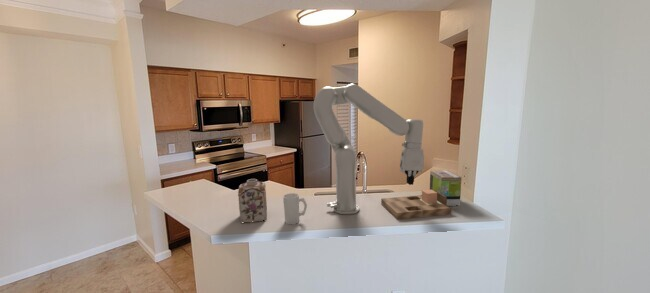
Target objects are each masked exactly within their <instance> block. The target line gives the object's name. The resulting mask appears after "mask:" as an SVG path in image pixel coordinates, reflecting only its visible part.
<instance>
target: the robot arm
mask: <svg viewBox="0 0 650 293" xmlns="http://www.w3.org/2000/svg"><path fill="white" fill-rule="evenodd" d="M346 104H351V105H352V106H354V107H355V108H356V109H358V110H359V111H360V112H362V113H363V114H365V115H366V116H367V117H368V118H370V119H372V120H374V121H376V122H378V123H379V124H381V125H382V126H384V127H385V128H386V129H388V131H389V132H390V133H391V134H393V135H396V136H399V137H402V136H404V142H403V143H402V144H401V146H402V147H403V148H402V151H401V155H400V161H399V167H400V168H399V172H401V173H404V174H405V175H406V184H408V185H409V186H411V185H414V182H415V178H416V175H417V174H418V173H423V170H424V167H425V156H424V155H425V154H424V149H423V148H422V143H423V129H424V121H423V120H422V119H417V118H412V119H411V118H409V119H405V118H404V117H402V116H401V115H400V114H398V113H397V112H395V111H394V110H392V109H391V107H388V106H387V105H386V104H384V103H383V102H381V101H380V100H378V99H377V98H376V97H375V96H373V95H372V94H370V93H369V92H368V91H366V90H365V89H364V88H362V87H361V86H359V85H358V84H356V83H350V84H348V85H346V86H340V87H339V86H338V87H332V86H324V87H322V88H321V89H319V91H318V92H317V93H316V96H315V97H314V100H313V112H314V116H315V119H316V121H317V122H318V125H319V126H320V128H321V131H322V133H323V135H324V137H325V140H326V141H327V143H328V144H330V146H331V149H332V150H333V152H334V154H335V155H334V156H335V158H334V160H335V187H336V188H335V189H336V190H335V191H336V192H335V194H336V195H335V196H336V199H335V200H334V201H333V202H326V207H330V209H333V212H335V213H337V214H340V215H354V214H357V213H358V212H359V211H360V206H359V205H358V204H357V183H356V182H357V179H356V177H357V176H356V175H357V174H356V173H357V171H356V170H357V168H356V167H357V166H356V165H357V155H356V151H355V148H354V147H353V145H352V143H351V141H350V139H349V137H348V135H347V133H346V131H345V129H344V127H342V125H341V124H340V123H339V120H338V119H337V116H336V114H335V112H334V109H333V106H338V105H339V106H340V105H346Z"/></svg>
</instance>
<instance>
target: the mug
mask: <svg viewBox="0 0 650 293" xmlns="http://www.w3.org/2000/svg"><path fill="white" fill-rule="evenodd" d="M299 195H300V194H298V193H295V192H294V193H293V192H290V193H286V194H283V197H282V198H283V210H284V223H285V222H286V223H287V225H291V224H292V225H296V223H297V224H298V223H300V216H304V215H305V214H306V211H307V207H308V206H307V205H308V204H307V202H306V200H305V197H301V198H300V197H299ZM300 202H302V204H303V205H304V207H303V211H300ZM286 223H285V224H286Z"/></svg>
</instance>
